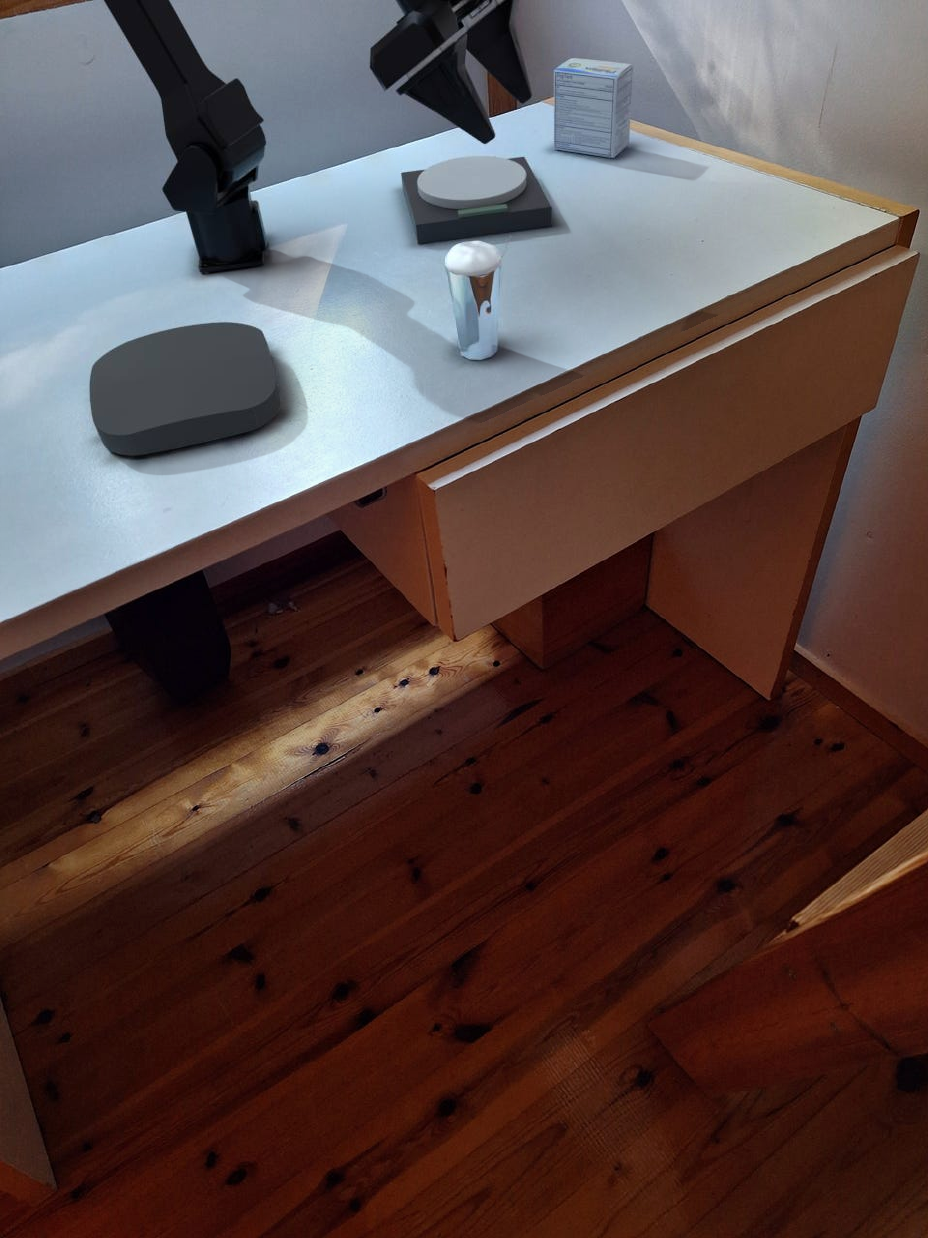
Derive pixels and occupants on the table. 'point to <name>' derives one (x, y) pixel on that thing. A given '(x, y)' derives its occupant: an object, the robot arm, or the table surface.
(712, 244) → the table surface
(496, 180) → the scale
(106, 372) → the media streaming box
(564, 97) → the medicine box
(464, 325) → the milkshake
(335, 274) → the table surface
